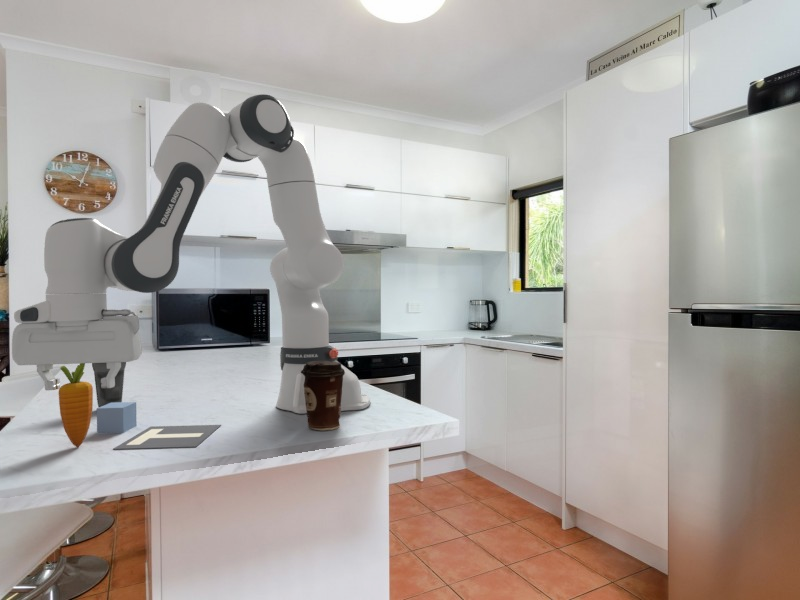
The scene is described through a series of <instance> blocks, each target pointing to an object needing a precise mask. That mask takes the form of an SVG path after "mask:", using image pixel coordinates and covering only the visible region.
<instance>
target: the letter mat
mask: <svg viewBox="0 0 800 600" xmlns="http://www.w3.org/2000/svg"><path fill="white" fill-rule="evenodd" d="M221 426H222V424H204V425H203V424H198V425H196V424H194V425H193V424H192V425H163V426H161V425H160V426H156V425H155V426H149V427H147V428H146V429H144V430H142V431H140V432H139V433H138V434H136V435H134V436H133V437H130V438H129V439H127V440H126V441H123V442H122V443H120V444H119V445H117V446H115V447H114V448H112V450H116V451H117V450H119V451H120V450H147V449H150V450H151V449H181V448H185V449H186V448H197V447H198V446H199V445H201V444H202V443H203V442H204V441H205V440H206V439H208V438H209V437H210V436H211V435H212V434H213V433H214V432H216V430H218V429H220V427H221Z"/></svg>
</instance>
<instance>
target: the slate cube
mask: <svg viewBox="0 0 800 600" xmlns="http://www.w3.org/2000/svg"><path fill="white" fill-rule="evenodd" d="M137 424H138V422H137V401H122V402H114V403H109V404H106V405H104V406H101V407H99V408H98V407H97V408H96V434H125V433H126V432H128V431H130V430H132V429H133V428H135V427H137Z"/></svg>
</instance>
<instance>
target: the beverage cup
mask: <svg viewBox="0 0 800 600" xmlns="http://www.w3.org/2000/svg"><path fill="white" fill-rule="evenodd" d="M126 365H127V362H121V368H120V370H119V371H118V373H117V375H116V376H115V386H114V387H112V388H101V384H102V383H101V379H102V378H105V377H106V376H107V374H108V372H109V371H110V369H107V363H91V366H92V371H93V373H94V382H95V383H94V384H95V394H96V401H97V402H96V403H97V408H99V407H101V406H104V405H106V404H109V403H114V402H123V392H124V391H123V390H124V383H125V382H124V381H125V369H126Z"/></svg>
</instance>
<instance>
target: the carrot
mask: <svg viewBox="0 0 800 600" xmlns="http://www.w3.org/2000/svg"><path fill="white" fill-rule="evenodd" d="M85 366H86V363H79V365H77V366H76V368H75V370H74V371H72V372H70V370H69V369H68V368H67V366H65V365H62V366H60V370H61V372H63V374H64V375H65V376H66V378H67V380H68V381H69V382H67V383H65V384H63V385H60V388H59V389H58V402H59V403H58V404H59V405H58V406H59V413H60V418H61V422H62V425H63V430H64V432H65V434H66V436H67V437H68V439H69V441H70V442H71V443H72V445H73V446H74V447H76V448H79V447H81V445H82V444H83V442H84V441H85V438H86V437H87V434H88V431H89V429H90V424H91V421H92V415H93V406H94V405H93V402H94V400H93V399H94V398H93V393H94V390H93V385H92V383H90V382H87V381H81V379H82V377H83V375H84V374H85V372H84V369H85Z"/></svg>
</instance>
